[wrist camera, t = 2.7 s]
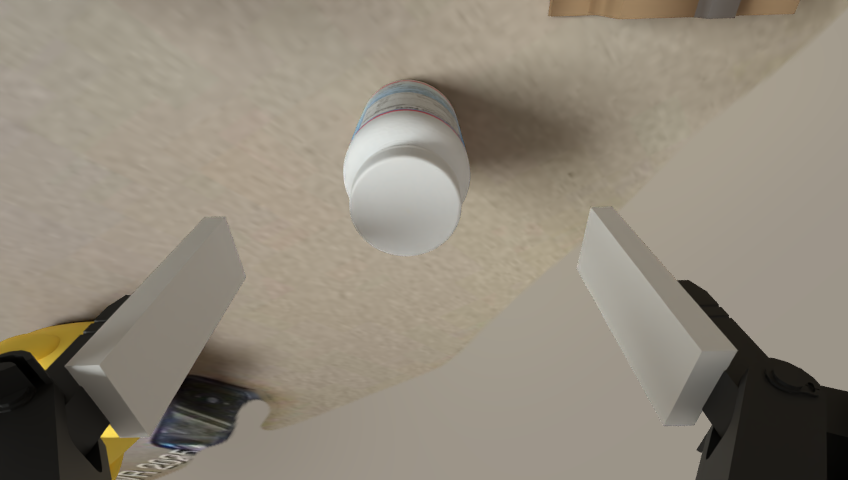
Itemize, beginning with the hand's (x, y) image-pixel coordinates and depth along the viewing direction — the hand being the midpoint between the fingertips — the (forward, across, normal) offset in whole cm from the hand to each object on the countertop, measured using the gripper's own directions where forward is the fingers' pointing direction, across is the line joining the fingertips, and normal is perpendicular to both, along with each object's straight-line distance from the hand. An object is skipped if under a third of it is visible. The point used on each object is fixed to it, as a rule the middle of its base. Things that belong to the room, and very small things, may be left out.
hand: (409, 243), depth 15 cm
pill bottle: (+13, 0, 0) cm, 13 cm away
